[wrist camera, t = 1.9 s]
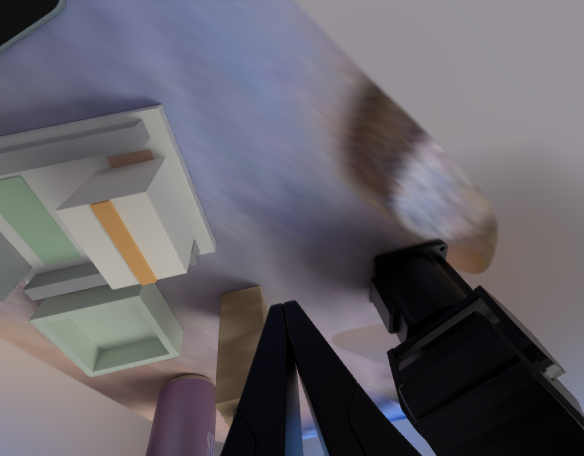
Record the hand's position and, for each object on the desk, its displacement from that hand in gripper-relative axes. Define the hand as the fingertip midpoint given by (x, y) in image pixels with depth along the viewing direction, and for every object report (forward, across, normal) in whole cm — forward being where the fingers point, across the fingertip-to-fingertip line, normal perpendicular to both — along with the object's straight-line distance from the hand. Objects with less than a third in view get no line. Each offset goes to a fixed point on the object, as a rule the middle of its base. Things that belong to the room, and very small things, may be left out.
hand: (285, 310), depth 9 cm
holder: (+12, +14, +10) cm, 21 cm away
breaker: (+11, +7, 0) cm, 13 cm away
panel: (+12, +11, 0) cm, 16 cm away
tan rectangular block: (+12, +4, +12) cm, 17 cm away
